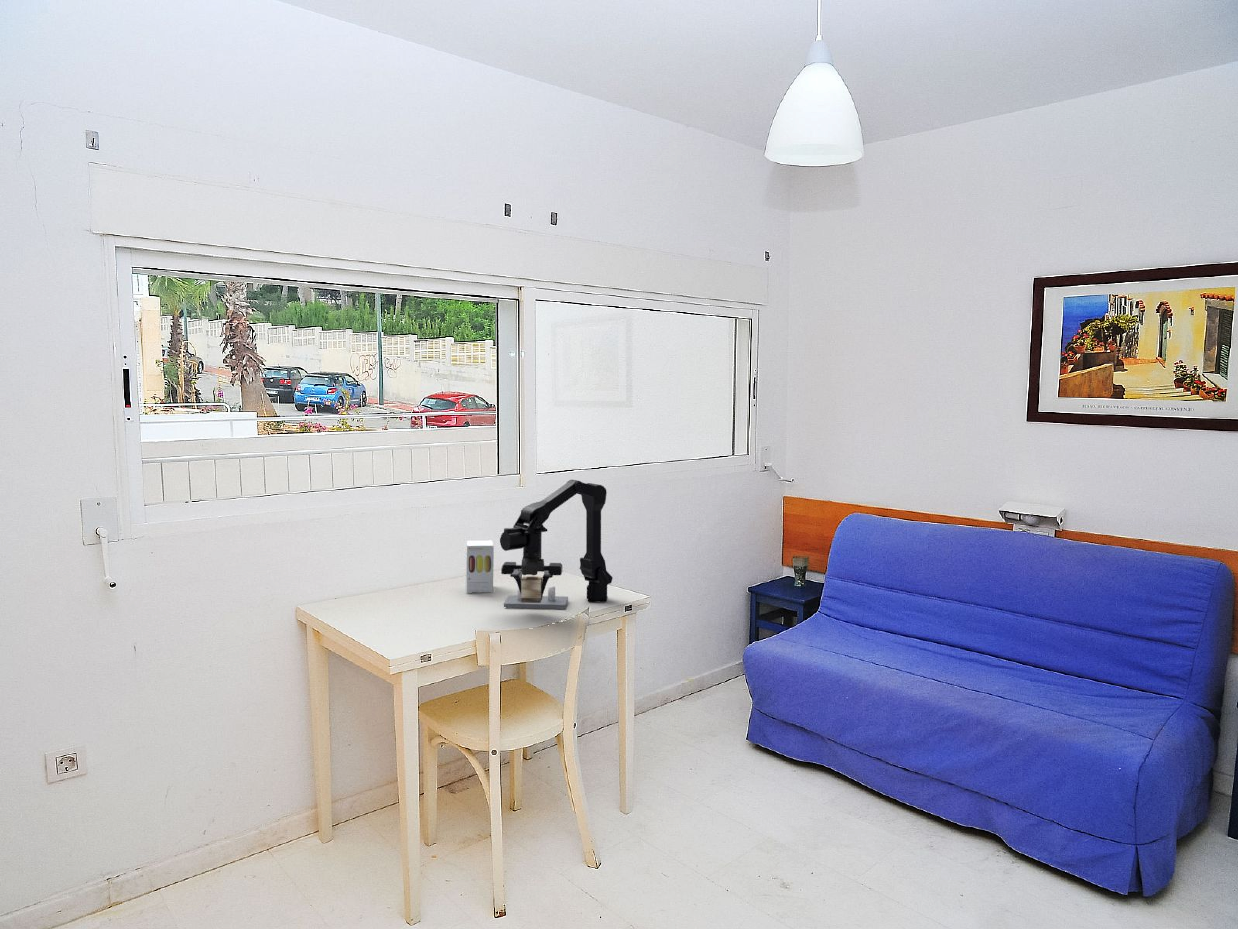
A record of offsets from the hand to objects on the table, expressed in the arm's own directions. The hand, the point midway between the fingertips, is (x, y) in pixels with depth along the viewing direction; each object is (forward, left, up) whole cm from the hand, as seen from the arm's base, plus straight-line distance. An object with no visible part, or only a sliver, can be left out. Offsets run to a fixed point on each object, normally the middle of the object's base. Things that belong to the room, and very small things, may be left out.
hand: (532, 595), depth 256 cm
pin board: (0, -11, -6) cm, 13 cm away
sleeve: (0, 0, -2) cm, 2 cm away
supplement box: (+22, -28, -6) cm, 36 cm away
